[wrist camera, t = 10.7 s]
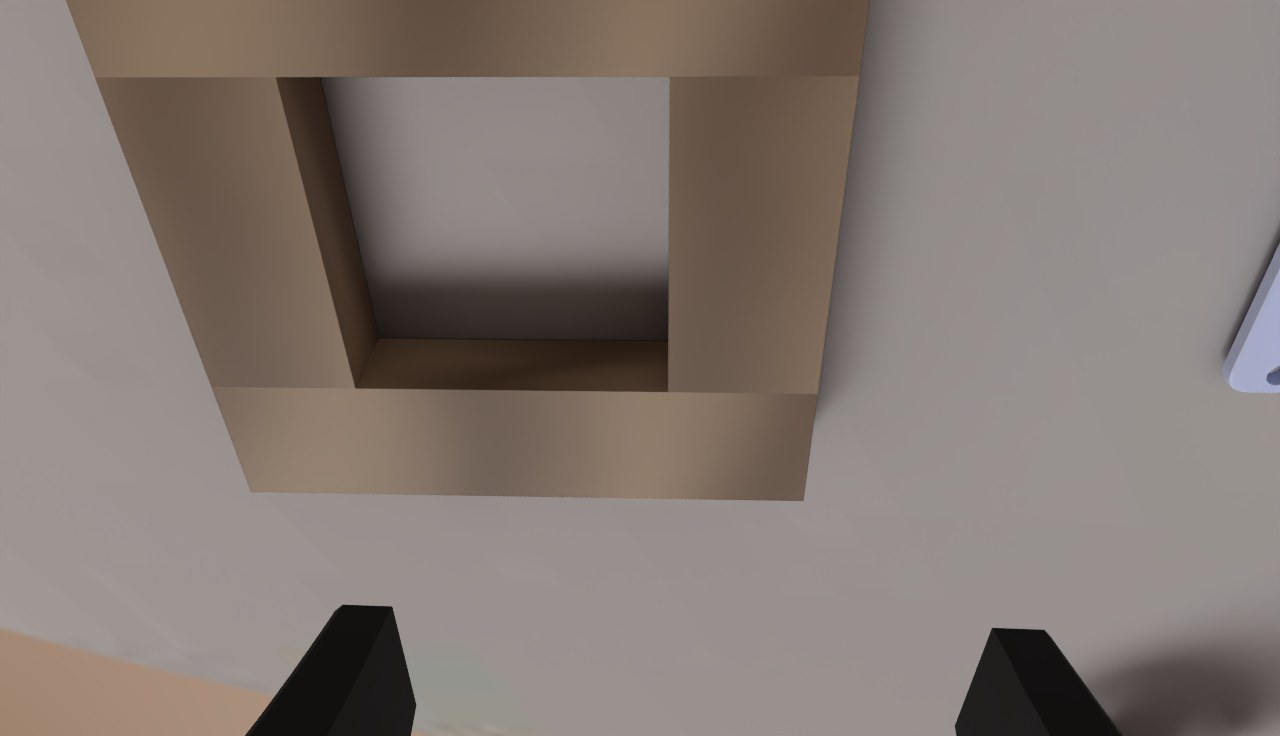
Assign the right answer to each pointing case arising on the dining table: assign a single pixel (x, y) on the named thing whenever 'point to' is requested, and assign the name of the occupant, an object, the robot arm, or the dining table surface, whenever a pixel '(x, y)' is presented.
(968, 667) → the dining table surface
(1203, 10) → the dining table surface
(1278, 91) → the dining table surface
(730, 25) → the collar
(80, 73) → the dining table surface
